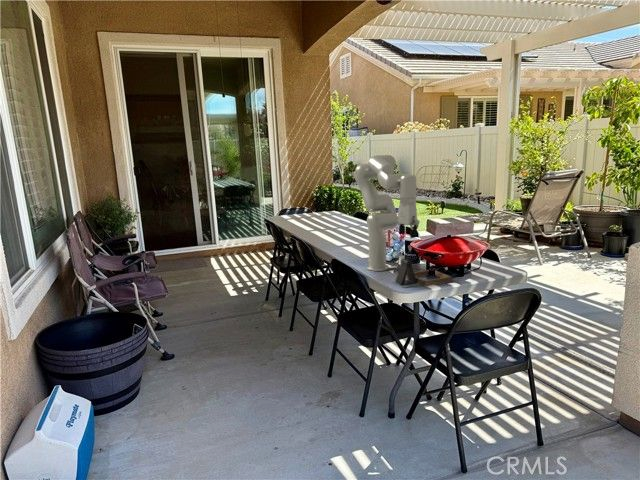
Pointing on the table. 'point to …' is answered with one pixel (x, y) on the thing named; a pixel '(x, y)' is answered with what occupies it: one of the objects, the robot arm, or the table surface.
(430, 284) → the pocket block
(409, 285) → the rubber mat
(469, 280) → the table surface
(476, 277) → the table surface
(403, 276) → the door stopper
